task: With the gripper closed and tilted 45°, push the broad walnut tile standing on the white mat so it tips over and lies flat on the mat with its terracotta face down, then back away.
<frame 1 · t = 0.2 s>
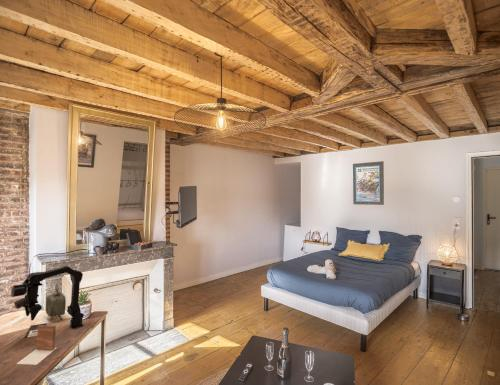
hand: (29, 318, 179), 14 cm above the table, tool pointing down, fingers open, 9 cm apart
walnut tile: (45, 349, 170), resting on white mat
white mat: (37, 356, 163), on the table
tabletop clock: (54, 319, 209), on the table
chocolate bar: (36, 331, 191), on the table
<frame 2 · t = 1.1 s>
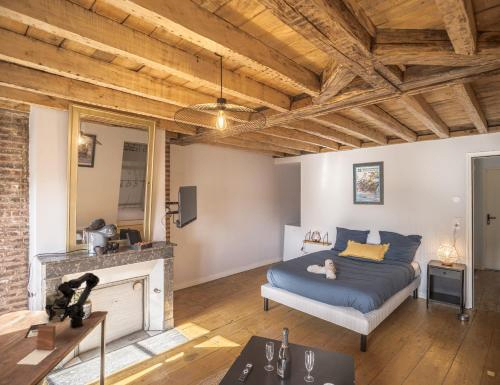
hand: (55, 321, 177), 13 cm above the table, tool tilted 45°, fingers open, 7 cm apart
nothing on the table moved.
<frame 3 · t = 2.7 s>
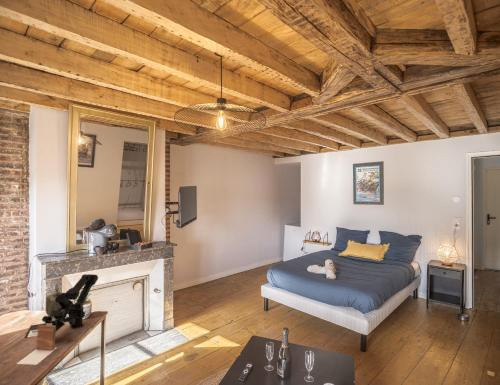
hand: (52, 334, 175), 7 cm above the table, tool tilted 45°, fingers closed
nothing on the table moved.
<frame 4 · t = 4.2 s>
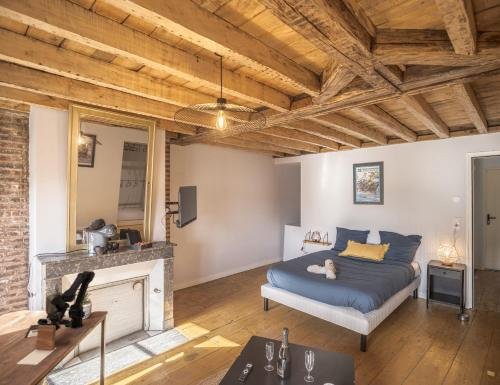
hand: (47, 337, 171), 7 cm above the table, tool tilted 45°, fingers closed, pressing on walnut tile
walnut tile: (45, 349, 170), resting on white mat, touching gripper
everything else where it was.
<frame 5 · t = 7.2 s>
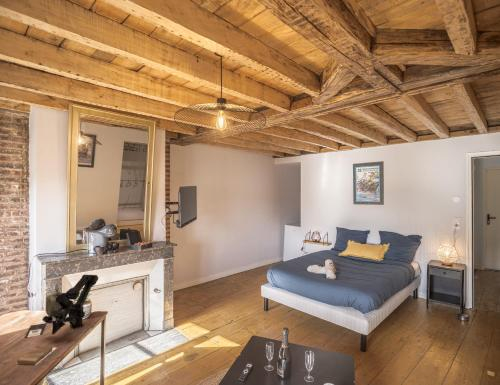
hand: (52, 334, 176), 7 cm above the table, tool tilted 45°, fingers closed
walnut tile: (44, 348, 169), point 2 cm above the table, tilted 90°, touching white mat
everything else where it was.
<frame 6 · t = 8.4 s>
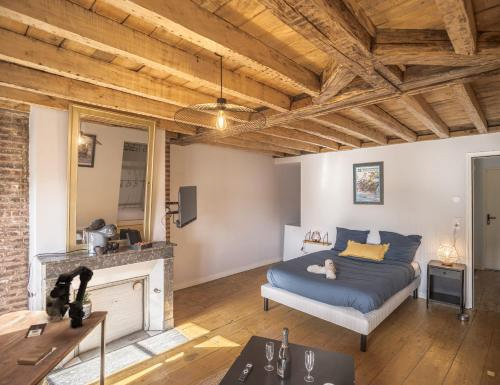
hand: (62, 317, 185), 13 cm above the table, tool pointing down, fingers closed
nothing on the table moved.
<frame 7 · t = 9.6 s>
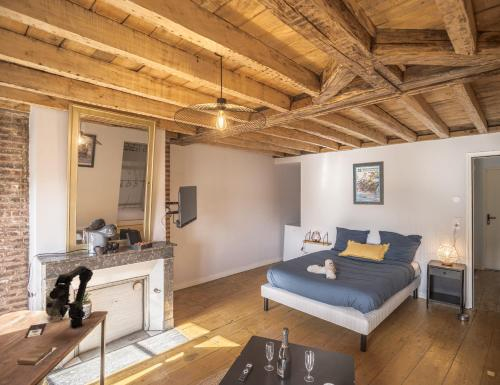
hand: (62, 317, 185), 13 cm above the table, tool pointing down, fingers closed
nothing on the table moved.
at the end: walnut tile tilted 90°; walnut tile touching white mat; walnut tile inside the target area on the white mat (1.3 cm from its centre), point 1.5 cm above the white mat's base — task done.
